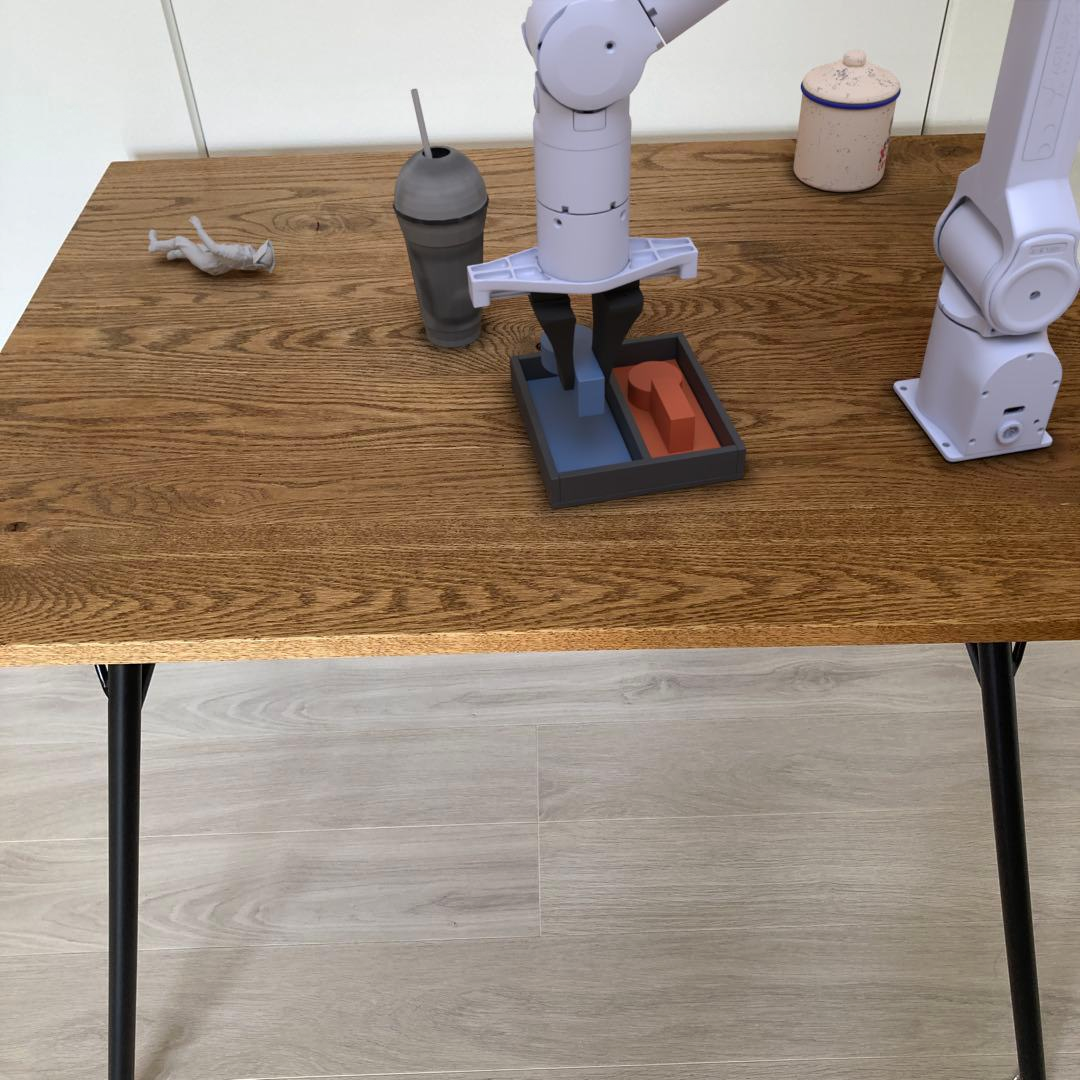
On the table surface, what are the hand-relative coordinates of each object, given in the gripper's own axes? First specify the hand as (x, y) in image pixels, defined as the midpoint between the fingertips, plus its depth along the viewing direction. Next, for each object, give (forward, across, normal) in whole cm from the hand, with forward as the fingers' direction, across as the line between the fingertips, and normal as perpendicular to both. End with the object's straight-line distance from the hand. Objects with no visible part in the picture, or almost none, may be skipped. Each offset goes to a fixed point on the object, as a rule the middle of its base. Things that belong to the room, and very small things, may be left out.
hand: (583, 379), depth 80 cm
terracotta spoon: (+6, -6, -2) cm, 9 cm away
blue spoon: (+1, 0, -2) cm, 3 cm away
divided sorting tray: (+6, -3, -2) cm, 7 cm away
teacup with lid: (+6, -34, -38) cm, 52 cm away
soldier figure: (+7, +26, -33) cm, 42 cm away
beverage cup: (+7, +7, -18) cm, 20 cm away
